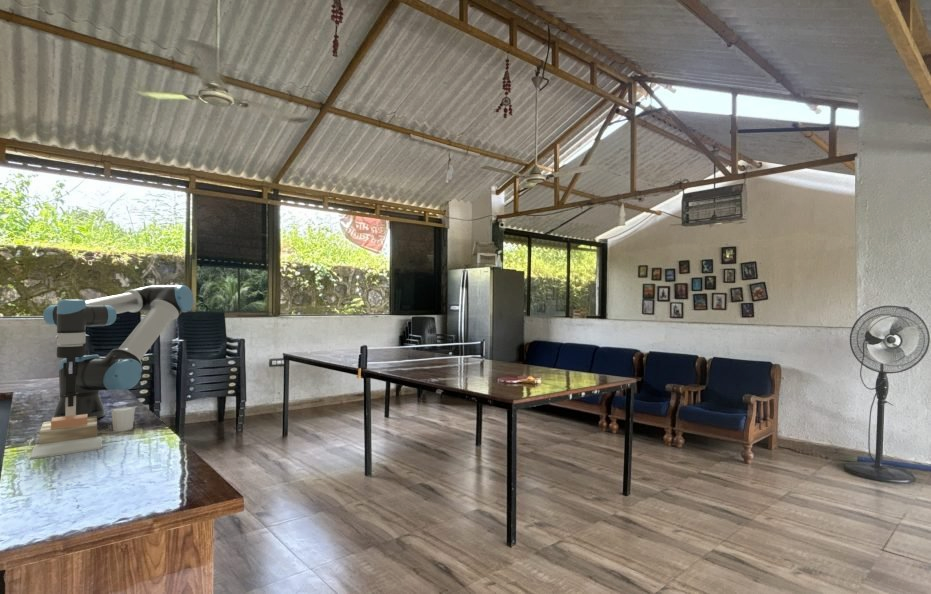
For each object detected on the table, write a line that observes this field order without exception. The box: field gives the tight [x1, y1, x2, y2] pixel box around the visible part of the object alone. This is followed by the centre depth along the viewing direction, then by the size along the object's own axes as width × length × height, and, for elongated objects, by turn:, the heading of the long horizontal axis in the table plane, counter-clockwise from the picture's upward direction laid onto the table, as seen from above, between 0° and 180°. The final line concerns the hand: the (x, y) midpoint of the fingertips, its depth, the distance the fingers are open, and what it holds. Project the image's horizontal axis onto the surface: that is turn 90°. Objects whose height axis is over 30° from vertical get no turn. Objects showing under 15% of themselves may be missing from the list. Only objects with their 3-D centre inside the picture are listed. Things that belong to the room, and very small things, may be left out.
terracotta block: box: [50, 414, 88, 428], centre depth 159 cm, size 6×9×2 cm, turn 127°
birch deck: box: [38, 416, 98, 445], centre depth 160 cm, size 16×14×4 cm
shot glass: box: [110, 406, 136, 432], centre depth 169 cm, size 7×7×7 cm
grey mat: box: [29, 436, 103, 460], centre depth 147 cm, size 14×16×1 cm
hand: (70, 415), depth 166 cm, fingers closed
